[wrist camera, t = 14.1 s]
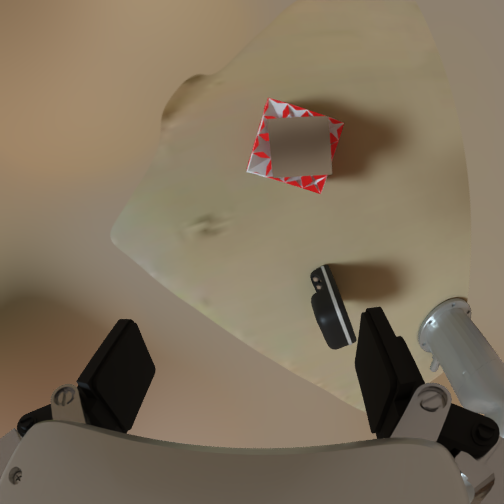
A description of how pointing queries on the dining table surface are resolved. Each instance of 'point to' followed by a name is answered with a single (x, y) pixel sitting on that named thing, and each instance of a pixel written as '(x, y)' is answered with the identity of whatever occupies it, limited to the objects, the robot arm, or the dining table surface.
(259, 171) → the puzzle cube
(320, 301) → the battery charger
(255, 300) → the dining table surface
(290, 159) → the walnut block
